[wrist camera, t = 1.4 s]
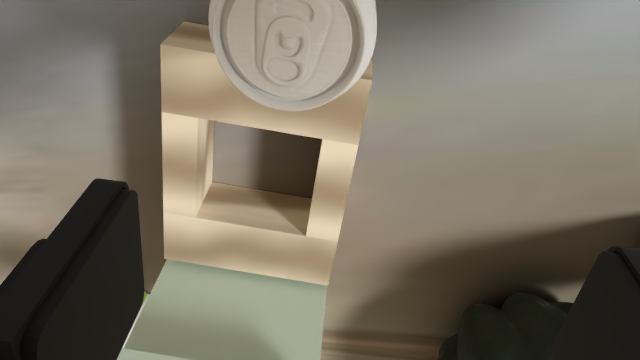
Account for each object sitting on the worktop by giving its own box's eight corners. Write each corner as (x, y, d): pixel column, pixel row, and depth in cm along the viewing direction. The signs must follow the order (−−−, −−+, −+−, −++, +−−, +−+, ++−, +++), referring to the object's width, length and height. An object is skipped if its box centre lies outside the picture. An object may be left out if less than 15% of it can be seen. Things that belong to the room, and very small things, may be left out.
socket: (184, 21, 33) (160, 44, 29) (372, 53, 33) (372, 80, 30) (182, 220, 42) (164, 258, 38) (331, 245, 42) (328, 285, 38)
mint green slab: (170, 198, 41) (76, 365, 28) (348, 228, 41) (338, 408, 28) (170, 238, 43) (83, 410, 30) (339, 266, 43) (327, 449, 30)
